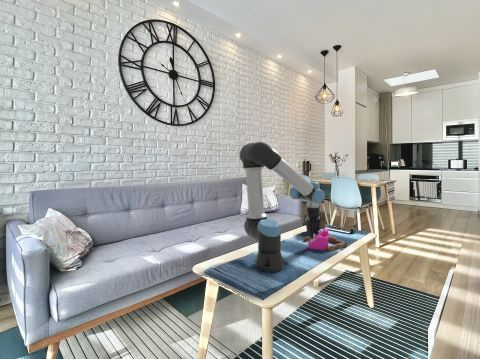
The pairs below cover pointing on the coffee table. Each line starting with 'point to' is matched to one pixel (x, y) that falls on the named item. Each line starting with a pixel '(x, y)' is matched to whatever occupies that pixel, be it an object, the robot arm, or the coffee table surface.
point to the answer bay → (337, 245)
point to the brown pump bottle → (322, 223)
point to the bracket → (320, 241)
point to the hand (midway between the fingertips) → (312, 243)
